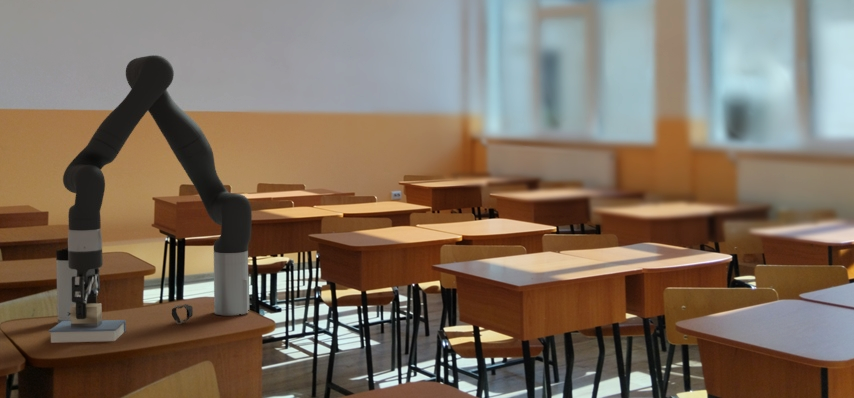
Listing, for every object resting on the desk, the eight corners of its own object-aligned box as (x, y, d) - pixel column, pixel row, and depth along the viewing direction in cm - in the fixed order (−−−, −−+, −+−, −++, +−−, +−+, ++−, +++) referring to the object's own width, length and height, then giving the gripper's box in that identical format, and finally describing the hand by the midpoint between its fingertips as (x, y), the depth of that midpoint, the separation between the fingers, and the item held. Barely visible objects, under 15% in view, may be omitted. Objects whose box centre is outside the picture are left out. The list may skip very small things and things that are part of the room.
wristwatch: (189, 325, 207) (188, 306, 206) (171, 324, 208) (170, 305, 208) (195, 322, 210) (194, 303, 209) (177, 321, 211) (177, 302, 210)
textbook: (125, 333, 199) (125, 319, 199) (115, 343, 190) (115, 329, 189) (62, 334, 197) (62, 321, 197) (49, 345, 188) (48, 330, 187)
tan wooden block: (101, 323, 195) (101, 303, 194) (97, 327, 191) (96, 306, 191) (76, 324, 194) (75, 303, 194) (70, 327, 190) (70, 307, 190)
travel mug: (75, 325, 205) (73, 248, 204) (52, 324, 207) (50, 247, 205) (90, 320, 211) (88, 245, 210) (67, 319, 213) (66, 244, 211)
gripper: (93, 251, 184) (94, 321, 185) (109, 244, 198) (110, 308, 200) (58, 252, 183) (60, 322, 184) (77, 244, 197) (79, 309, 199)
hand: (86, 315), depth 192 cm, fingers open, 8 cm apart
